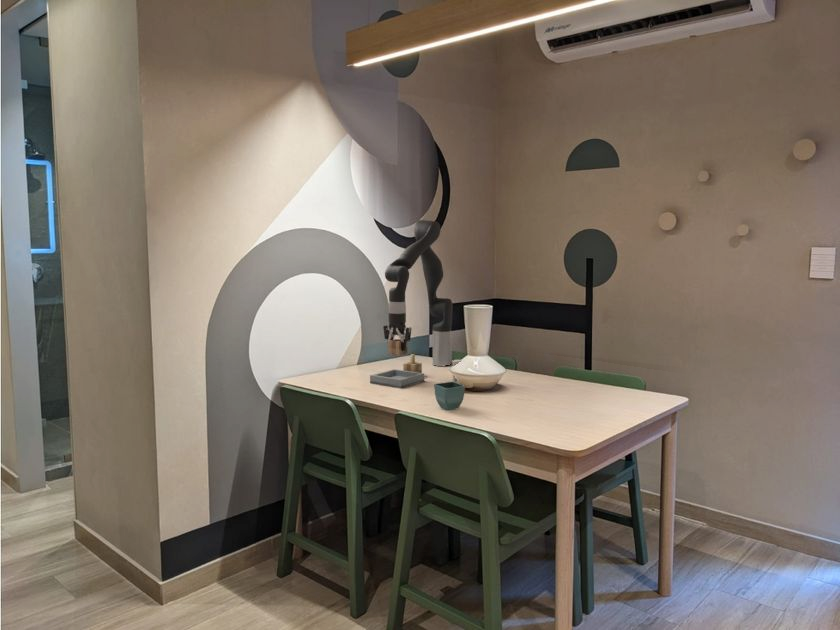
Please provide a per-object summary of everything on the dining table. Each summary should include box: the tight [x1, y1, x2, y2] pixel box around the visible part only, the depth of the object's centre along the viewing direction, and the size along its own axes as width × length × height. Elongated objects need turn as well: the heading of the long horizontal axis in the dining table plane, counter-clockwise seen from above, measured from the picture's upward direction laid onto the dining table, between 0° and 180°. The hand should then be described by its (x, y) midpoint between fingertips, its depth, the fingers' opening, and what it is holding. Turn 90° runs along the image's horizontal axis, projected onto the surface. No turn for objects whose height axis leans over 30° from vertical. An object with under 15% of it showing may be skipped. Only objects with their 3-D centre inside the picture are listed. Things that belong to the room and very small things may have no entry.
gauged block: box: [402, 353, 423, 373], centre depth 312 cm, size 6×6×10 cm
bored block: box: [387, 338, 409, 356], centre depth 298 cm, size 6×6×6 cm
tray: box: [369, 368, 425, 389], centre depth 300 cm, size 17×17×4 cm
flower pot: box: [433, 381, 466, 411], centre depth 255 cm, size 9×9×9 cm
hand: (397, 349), depth 298 cm, fingers closed on bored block, 6 cm apart
